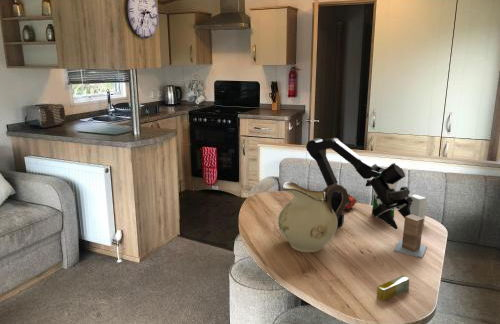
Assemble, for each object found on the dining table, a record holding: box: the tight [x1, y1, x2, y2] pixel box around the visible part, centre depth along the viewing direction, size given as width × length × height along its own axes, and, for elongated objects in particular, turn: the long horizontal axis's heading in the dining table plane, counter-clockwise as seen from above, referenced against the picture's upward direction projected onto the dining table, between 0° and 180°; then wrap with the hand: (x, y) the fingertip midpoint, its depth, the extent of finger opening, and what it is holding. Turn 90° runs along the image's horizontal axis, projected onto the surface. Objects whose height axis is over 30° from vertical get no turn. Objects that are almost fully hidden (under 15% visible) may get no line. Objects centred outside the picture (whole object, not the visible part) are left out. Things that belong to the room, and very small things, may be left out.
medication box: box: [376, 275, 410, 302], centre depth 121 cm, size 12×3×4 cm, turn 121°
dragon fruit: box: [343, 193, 357, 211], centre depth 189 cm, size 8×8×12 cm
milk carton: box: [371, 175, 399, 218], centre depth 178 cm, size 9×9×20 cm
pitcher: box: [277, 181, 349, 254], centre depth 150 cm, size 22×24×25 cm
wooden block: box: [402, 214, 425, 252], centre depth 148 cm, size 4×5×12 cm
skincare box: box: [408, 194, 427, 225], centre depth 172 cm, size 6×4×12 cm
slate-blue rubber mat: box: [393, 239, 428, 259], centre depth 149 cm, size 10×10×1 cm
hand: (404, 225), depth 150 cm, fingers open, 9 cm apart
